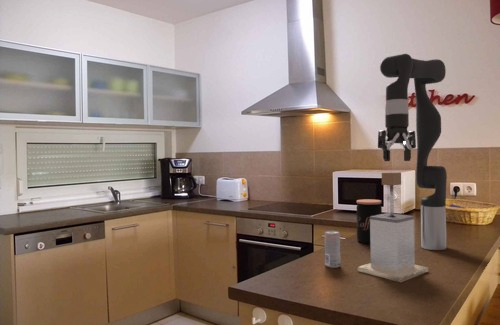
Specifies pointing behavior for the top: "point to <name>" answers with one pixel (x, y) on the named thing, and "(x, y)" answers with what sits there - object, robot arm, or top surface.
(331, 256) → the energy drink
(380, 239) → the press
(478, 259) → the top surface
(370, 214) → the coffee jar
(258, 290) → the top surface
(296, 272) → the top surface
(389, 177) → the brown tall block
